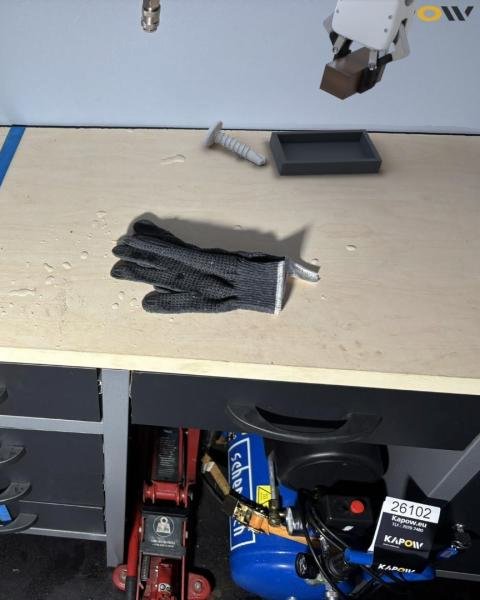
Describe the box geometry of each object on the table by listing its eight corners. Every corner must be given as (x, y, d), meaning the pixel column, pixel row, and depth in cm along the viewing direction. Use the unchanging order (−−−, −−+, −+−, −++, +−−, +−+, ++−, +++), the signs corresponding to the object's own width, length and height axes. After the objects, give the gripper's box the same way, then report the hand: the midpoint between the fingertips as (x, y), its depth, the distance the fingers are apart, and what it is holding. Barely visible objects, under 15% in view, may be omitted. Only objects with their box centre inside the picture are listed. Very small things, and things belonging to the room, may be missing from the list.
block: (356, 70, 97) (364, 46, 94) (380, 81, 95) (389, 56, 92) (318, 88, 94) (325, 64, 91) (342, 100, 91) (350, 75, 88)
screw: (203, 147, 112) (218, 123, 111) (257, 178, 109) (273, 154, 108) (199, 139, 107) (215, 114, 107) (256, 171, 104) (273, 146, 103)
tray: (361, 141, 110) (365, 129, 108) (377, 173, 103) (382, 160, 101) (269, 143, 110) (271, 131, 109) (279, 175, 104) (282, 163, 102)
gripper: (465, -33, 77) (413, 97, 91) (355, -66, 87) (323, 56, 100) (428, -18, 75) (381, 114, 88) (320, -54, 84) (292, 71, 98)
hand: (350, 82), depth 94 cm, fingers closed on block, 4 cm apart
